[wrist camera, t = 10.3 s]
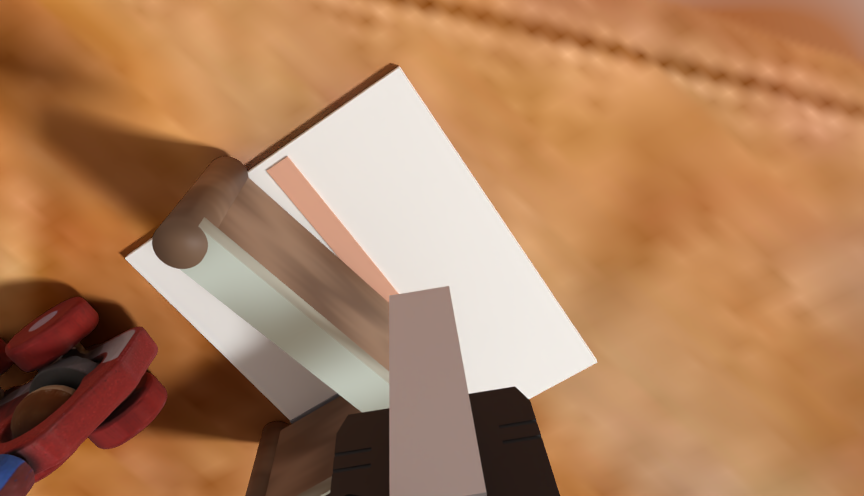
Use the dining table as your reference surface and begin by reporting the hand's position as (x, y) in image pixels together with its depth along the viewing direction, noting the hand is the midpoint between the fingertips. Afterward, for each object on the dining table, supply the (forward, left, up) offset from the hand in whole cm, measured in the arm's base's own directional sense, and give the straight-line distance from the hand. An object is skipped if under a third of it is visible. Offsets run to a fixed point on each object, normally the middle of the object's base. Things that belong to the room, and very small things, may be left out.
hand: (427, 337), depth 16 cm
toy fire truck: (-21, +1, -15) cm, 26 cm away
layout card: (-6, -6, -15) cm, 17 cm away
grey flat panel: (-6, -1, -14) cm, 15 cm away
